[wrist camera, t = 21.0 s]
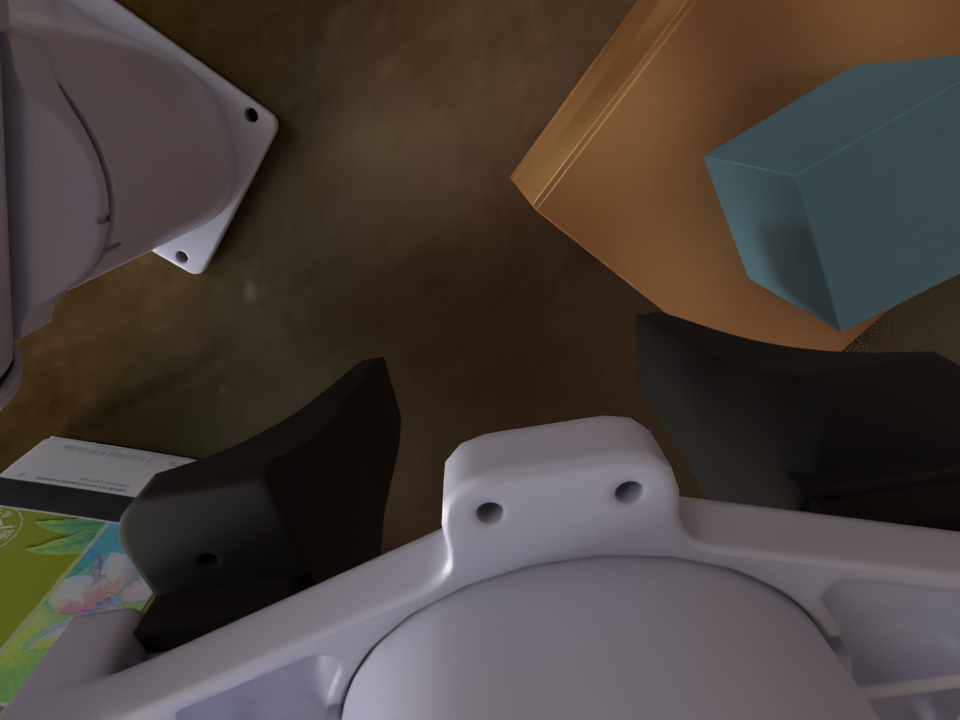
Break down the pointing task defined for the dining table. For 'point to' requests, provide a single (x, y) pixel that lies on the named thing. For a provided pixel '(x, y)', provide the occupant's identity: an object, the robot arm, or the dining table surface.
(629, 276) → the box lid
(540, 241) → the dining table surface
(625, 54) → the box
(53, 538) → the tea box
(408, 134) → the dining table surface
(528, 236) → the dining table surface
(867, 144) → the block
